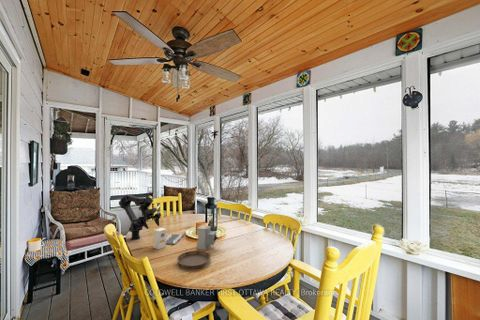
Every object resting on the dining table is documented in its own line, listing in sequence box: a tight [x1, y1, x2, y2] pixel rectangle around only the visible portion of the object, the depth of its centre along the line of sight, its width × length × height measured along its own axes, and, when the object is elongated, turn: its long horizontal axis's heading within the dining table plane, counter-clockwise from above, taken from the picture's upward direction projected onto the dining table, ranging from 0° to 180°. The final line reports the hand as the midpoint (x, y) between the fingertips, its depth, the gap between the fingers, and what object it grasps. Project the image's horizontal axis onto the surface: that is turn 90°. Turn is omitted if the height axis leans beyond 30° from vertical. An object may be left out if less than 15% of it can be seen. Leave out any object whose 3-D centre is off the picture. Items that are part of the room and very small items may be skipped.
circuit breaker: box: [196, 224, 218, 251], centre depth 160 cm, size 8×14×15 cm, turn 78°
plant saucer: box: [176, 250, 211, 269], centre depth 136 cm, size 21×21×3 cm
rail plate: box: [166, 232, 185, 246], centre depth 175 cm, size 12×20×2 cm, turn 175°
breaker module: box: [152, 227, 167, 250], centre depth 159 cm, size 7×6×13 cm
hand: (153, 227), depth 164 cm, fingers open, 9 cm apart
